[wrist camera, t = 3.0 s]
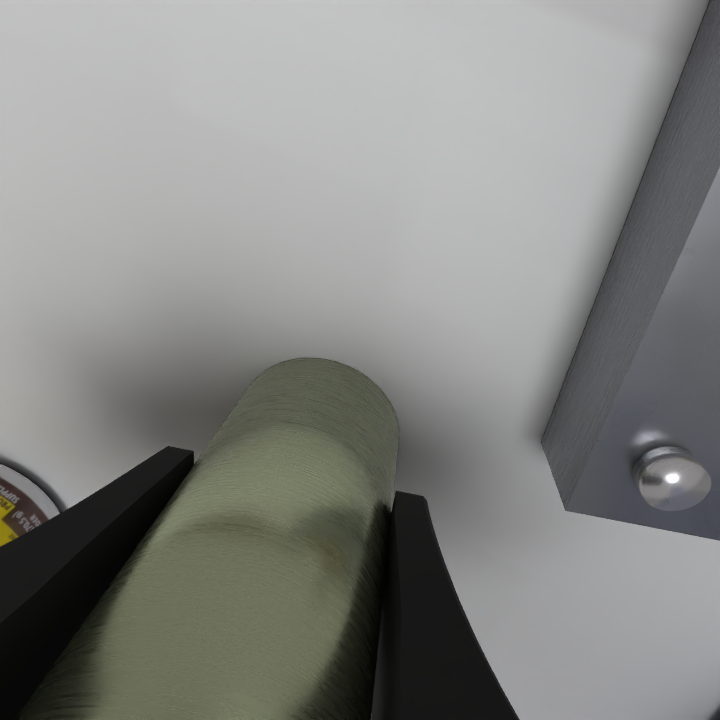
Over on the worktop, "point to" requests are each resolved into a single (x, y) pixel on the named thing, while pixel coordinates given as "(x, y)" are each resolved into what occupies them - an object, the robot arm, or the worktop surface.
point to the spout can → (252, 570)
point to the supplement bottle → (21, 505)
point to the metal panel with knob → (655, 335)
